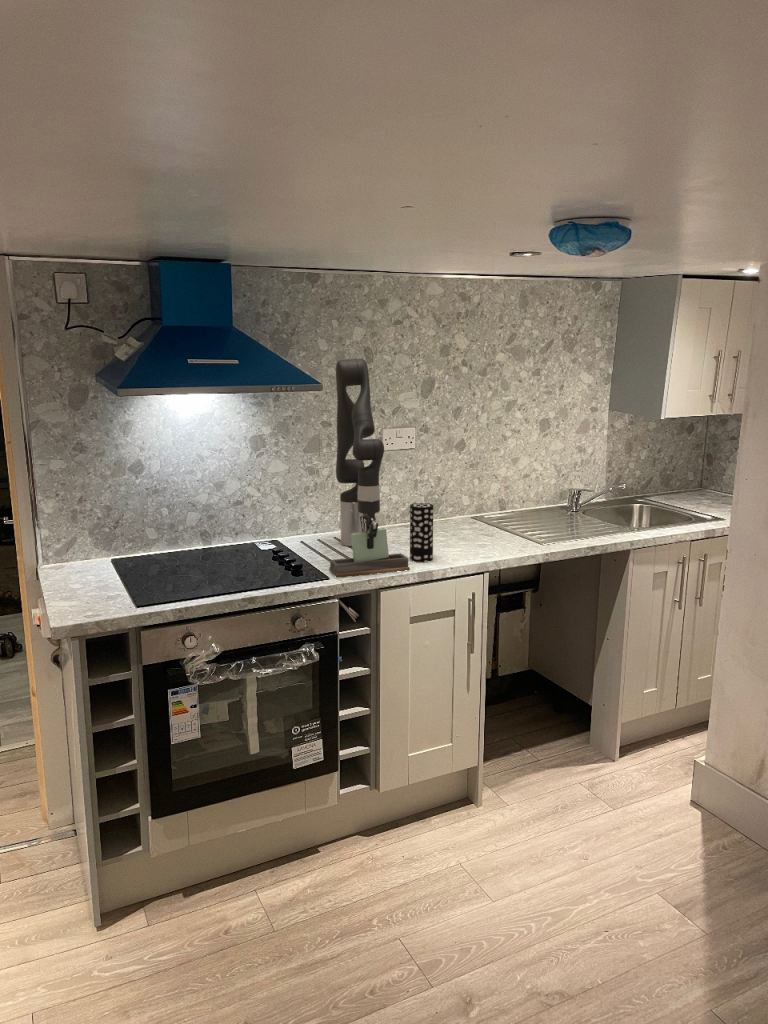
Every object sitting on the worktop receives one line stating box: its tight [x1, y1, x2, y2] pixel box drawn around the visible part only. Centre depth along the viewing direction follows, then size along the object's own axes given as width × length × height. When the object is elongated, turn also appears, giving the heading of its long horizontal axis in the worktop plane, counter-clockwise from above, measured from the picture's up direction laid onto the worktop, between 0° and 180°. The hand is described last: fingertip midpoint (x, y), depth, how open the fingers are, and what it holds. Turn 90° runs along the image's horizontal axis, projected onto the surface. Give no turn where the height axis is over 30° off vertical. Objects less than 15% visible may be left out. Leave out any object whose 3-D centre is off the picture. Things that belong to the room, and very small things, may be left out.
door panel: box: [351, 527, 389, 562], centre depth 267 cm, size 2×12×10 cm, turn 109°
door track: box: [328, 552, 411, 578], centre depth 269 cm, size 10×26×4 cm, turn 109°
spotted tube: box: [409, 502, 434, 563], centre depth 280 cm, size 8×8×20 cm
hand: (369, 547), depth 267 cm, fingers closed on door panel, 2 cm apart
